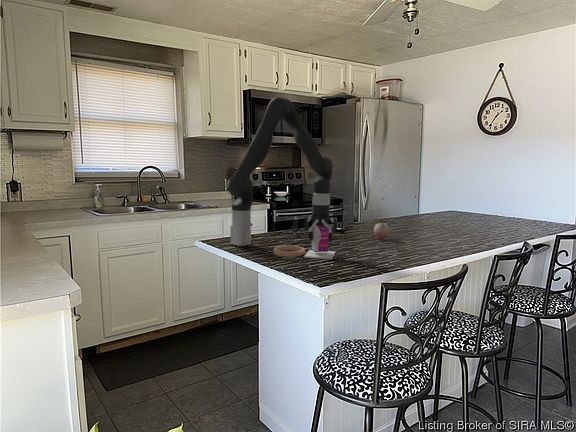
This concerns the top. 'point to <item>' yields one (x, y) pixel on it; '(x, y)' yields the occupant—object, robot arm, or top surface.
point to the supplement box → (320, 238)
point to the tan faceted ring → (281, 252)
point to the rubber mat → (320, 254)
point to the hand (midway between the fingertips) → (320, 240)
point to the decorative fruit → (381, 230)
